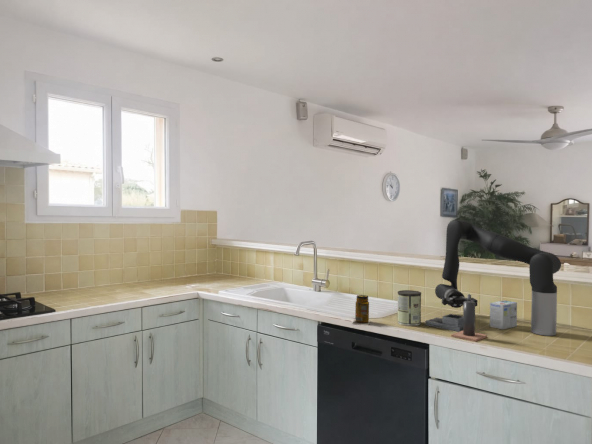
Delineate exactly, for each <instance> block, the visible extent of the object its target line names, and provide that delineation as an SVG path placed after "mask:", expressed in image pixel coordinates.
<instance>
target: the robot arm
mask: <svg viewBox="0 0 592 444" xmlns="http://www.w3.org/2000/svg"><path fill="white" fill-rule="evenodd" d="M445 235H446V240H445V241H446V242H445V259H444V264H443V269H442V275H441V277H442V279H443V280H445V281H446V282H449V283H450V284H444V283H439V284H438V285H436V287H435V289H434V293H435V297H437V298H438V299H440V300H441V304H442V305H443V306H449V307H451V308H454V309H458V308H462V307H463V302H464V301H467V297H466V296H465V295H464V293H462V292H461V291H460V290H458V275H459V270H460V257H459V244H460V240H466V241H470V242H473V243H476V244H478V245H479V246H480V247H482V248H483V250H486V251H487V252H489V253H491V254H493V255H496V256H498V257H501V258H503V259H507V260H512V261H514V262H515V261H517V262H521V263H524V264H527V265H528V266H529V270H528V271H529V284H530V286H531V311H530V312H531V317H530V318H531V319H530V320H531V321H530V332H531V333H533V334H534V335H541V336H550V337H551V336H556V335H557V323H558V322H557V318H558V315H557V312H558V309H557V307H558V306H557V305H558V287H557V285H556V284H555V283H554V274H556V273H558V272H559V271H560V270H561V268H562V262H561V259H560V258H559V257H558V256H557V255H555V254H554V253H552V252H548V251H545V250H541V249H537V248H534V247H531V246H529V245H526V244H524V243H522V242H519V241H517V240H515V239H513V238H510V237H508V236H506V235H503V234H500V233H497V232H494V231H490V230H487V229H484V228H482V227H479V226H478V225H475V224H473V223H472V222H470V221H468V220H463V219H453V220H451V221H449V222H448V223H447V226H446V233H445ZM471 301H472V302H475V307H478V299H476V298H474V297H471Z"/></svg>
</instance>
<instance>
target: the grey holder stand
mask: <svg viewBox="0 0 592 444" xmlns="http://www.w3.org/2000/svg"><path fill="white" fill-rule="evenodd" d="M424 325H425V326H428V327H433V328H437V329H442V330H447V331H451V332H455V333H457V332H460V331H463V315H459V314H453V313H450V314H449V313H448V314H446V315H443V316H441V317H434V318H429V319H427V320H424Z"/></svg>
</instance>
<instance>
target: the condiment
mask: <svg viewBox="0 0 592 444" xmlns="http://www.w3.org/2000/svg"><path fill="white" fill-rule="evenodd" d="M354 317H355V318H354V320H353V322H352V324H353V325H362V326H369V325H370V323H371V320H370V302H369V296H368V295H365V294H358V295H356V301H355V316H354Z"/></svg>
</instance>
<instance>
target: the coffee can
mask: <svg viewBox="0 0 592 444" xmlns="http://www.w3.org/2000/svg"><path fill="white" fill-rule="evenodd" d="M421 308H422V292H421V291H419V290H411V289H410V290H409V289H407V290H406V289H405V290H398V291H397V324H399V325H401V326H408V327H416V326H420V325H421V324H422V323H421V321H422V320H421V319H422V316H421V315H422V314H421V313H422V309H421Z"/></svg>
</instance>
